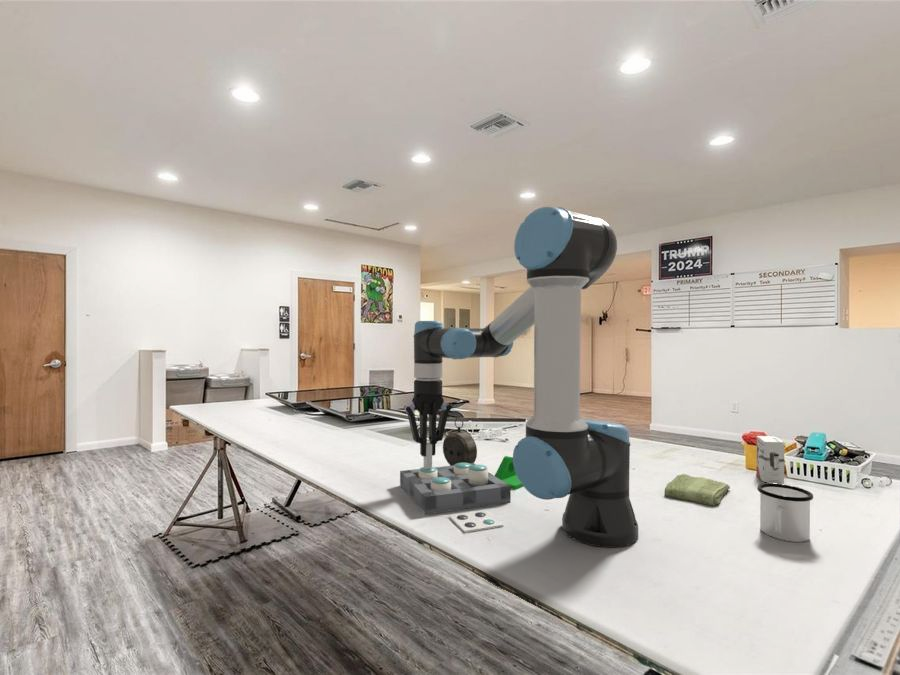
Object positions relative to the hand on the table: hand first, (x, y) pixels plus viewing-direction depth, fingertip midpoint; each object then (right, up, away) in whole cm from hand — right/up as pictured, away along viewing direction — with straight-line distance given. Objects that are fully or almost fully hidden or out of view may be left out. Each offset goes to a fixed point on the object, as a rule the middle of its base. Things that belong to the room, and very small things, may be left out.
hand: (427, 467), depth 125 cm
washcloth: (+70, -7, -2) cm, 71 cm away
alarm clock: (+8, -6, +17) cm, 20 cm away
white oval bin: (+74, -6, -28) cm, 80 cm away
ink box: (+97, -6, +9) cm, 98 cm away
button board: (+7, -6, -3) cm, 9 cm away
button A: (+4, -5, -9) cm, 11 cm away
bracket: (+25, -6, +7) cm, 26 cm away
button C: (+13, -3, -6) cm, 15 cm away
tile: (+12, -6, -21) cm, 25 cm away
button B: (0, -5, 0) cm, 5 cm away
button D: (+9, -5, +3) cm, 11 cm away
